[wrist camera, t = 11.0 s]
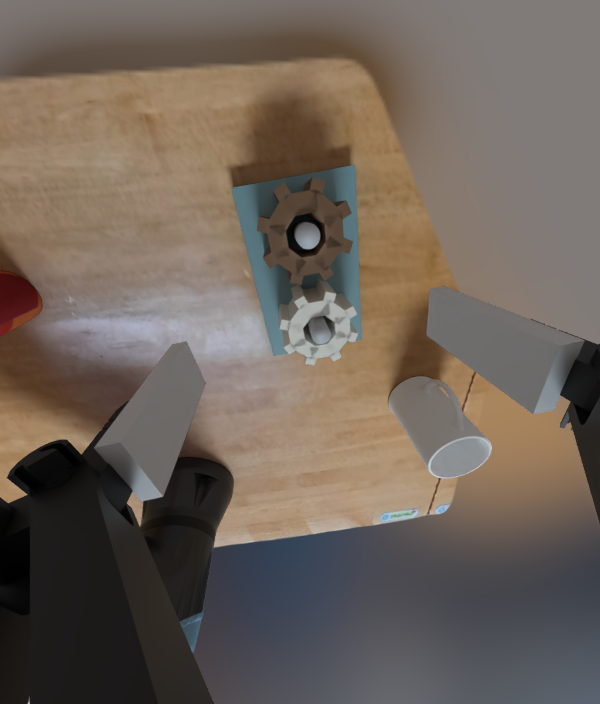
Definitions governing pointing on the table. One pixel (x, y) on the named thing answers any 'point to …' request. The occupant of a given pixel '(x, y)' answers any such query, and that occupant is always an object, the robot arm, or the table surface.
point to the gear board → (300, 236)
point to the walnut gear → (326, 221)
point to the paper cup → (17, 301)
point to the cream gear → (314, 305)
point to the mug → (438, 427)
